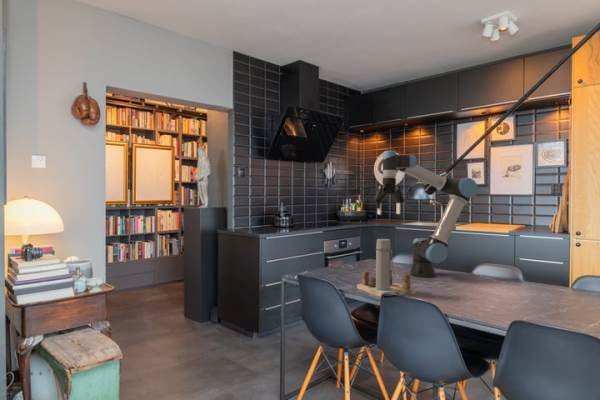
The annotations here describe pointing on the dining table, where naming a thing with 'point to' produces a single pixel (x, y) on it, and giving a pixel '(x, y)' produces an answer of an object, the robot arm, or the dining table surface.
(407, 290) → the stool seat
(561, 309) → the dining table surface
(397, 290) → the socket pad
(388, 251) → the water bottle
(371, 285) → the keeper leg
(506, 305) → the dining table surface
